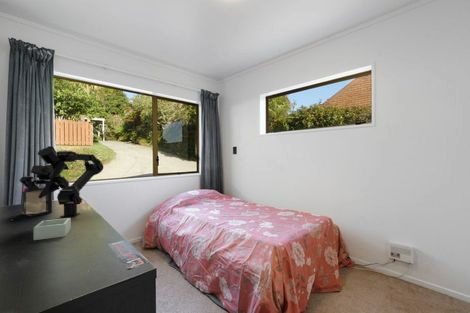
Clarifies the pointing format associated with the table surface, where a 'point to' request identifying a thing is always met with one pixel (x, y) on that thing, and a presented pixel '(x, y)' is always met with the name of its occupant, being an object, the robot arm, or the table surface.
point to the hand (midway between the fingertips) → (33, 197)
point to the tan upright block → (35, 203)
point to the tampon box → (48, 202)
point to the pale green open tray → (52, 228)
